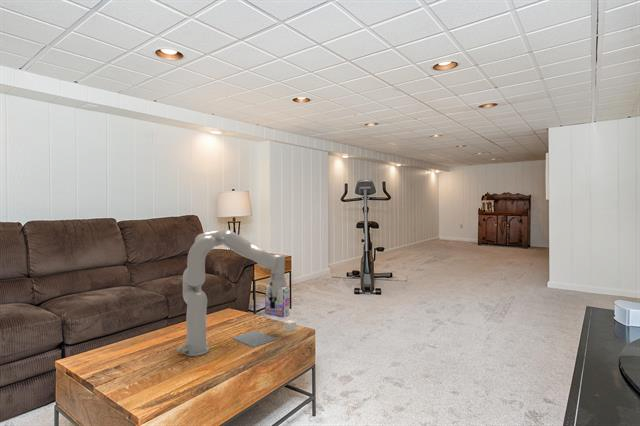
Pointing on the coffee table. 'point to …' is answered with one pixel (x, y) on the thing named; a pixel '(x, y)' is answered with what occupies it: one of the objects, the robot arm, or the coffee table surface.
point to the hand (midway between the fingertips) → (277, 306)
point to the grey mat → (254, 338)
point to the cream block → (290, 325)
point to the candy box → (278, 302)
